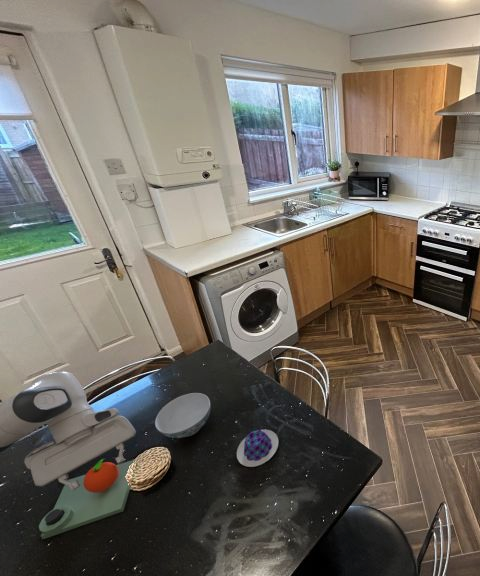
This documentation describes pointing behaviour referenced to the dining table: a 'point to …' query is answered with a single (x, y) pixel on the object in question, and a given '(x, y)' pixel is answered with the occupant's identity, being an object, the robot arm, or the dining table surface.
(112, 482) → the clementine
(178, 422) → the chinaware
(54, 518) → the button
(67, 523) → the scale
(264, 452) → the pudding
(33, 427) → the robot arm
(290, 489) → the dining table surface
